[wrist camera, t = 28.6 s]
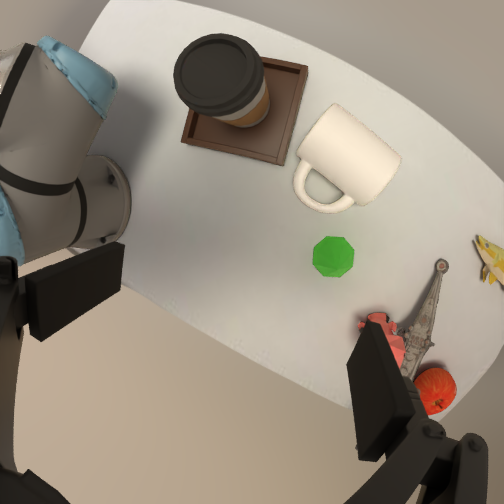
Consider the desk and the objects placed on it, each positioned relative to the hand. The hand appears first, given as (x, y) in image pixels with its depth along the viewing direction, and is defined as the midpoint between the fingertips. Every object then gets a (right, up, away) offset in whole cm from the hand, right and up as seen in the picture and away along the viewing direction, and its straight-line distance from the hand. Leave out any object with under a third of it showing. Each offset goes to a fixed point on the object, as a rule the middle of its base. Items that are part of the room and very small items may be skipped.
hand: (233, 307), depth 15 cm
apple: (+30, -19, +27) cm, 45 cm away
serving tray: (0, +22, +23) cm, 32 cm away
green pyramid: (+12, +2, +25) cm, 28 cm away
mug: (+12, +14, +23) cm, 29 cm away
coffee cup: (0, +22, +22) cm, 31 cm away
